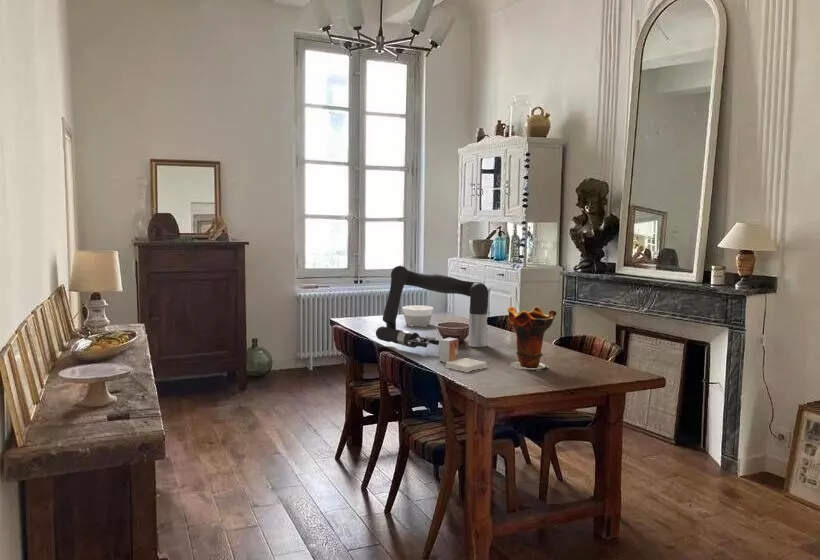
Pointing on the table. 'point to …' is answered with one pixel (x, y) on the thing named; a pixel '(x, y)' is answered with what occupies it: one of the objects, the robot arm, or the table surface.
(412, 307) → the bowl
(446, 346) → the small box
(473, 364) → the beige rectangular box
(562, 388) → the table surface
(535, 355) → the decorative vase
